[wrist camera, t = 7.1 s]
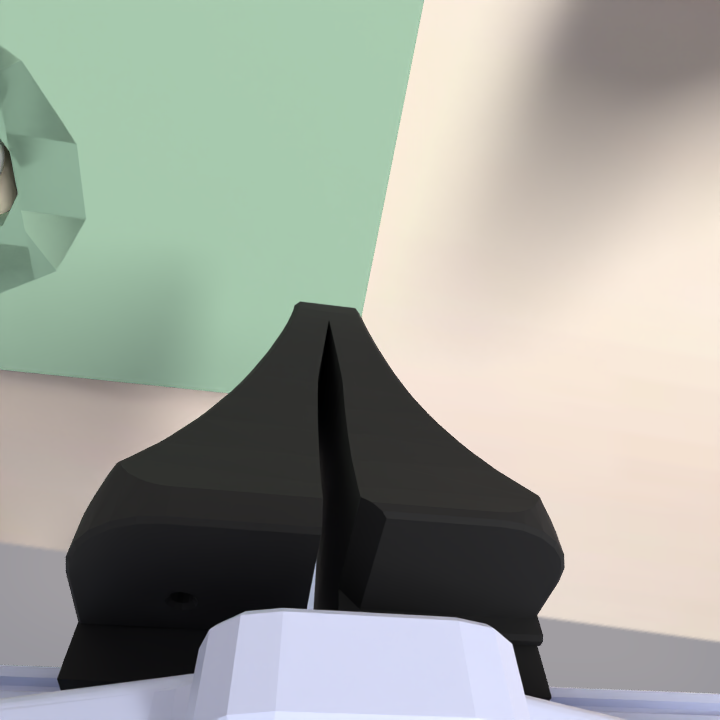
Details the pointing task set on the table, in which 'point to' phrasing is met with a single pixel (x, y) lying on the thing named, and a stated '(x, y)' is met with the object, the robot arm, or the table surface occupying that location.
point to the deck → (190, 177)
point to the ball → (1, 155)
